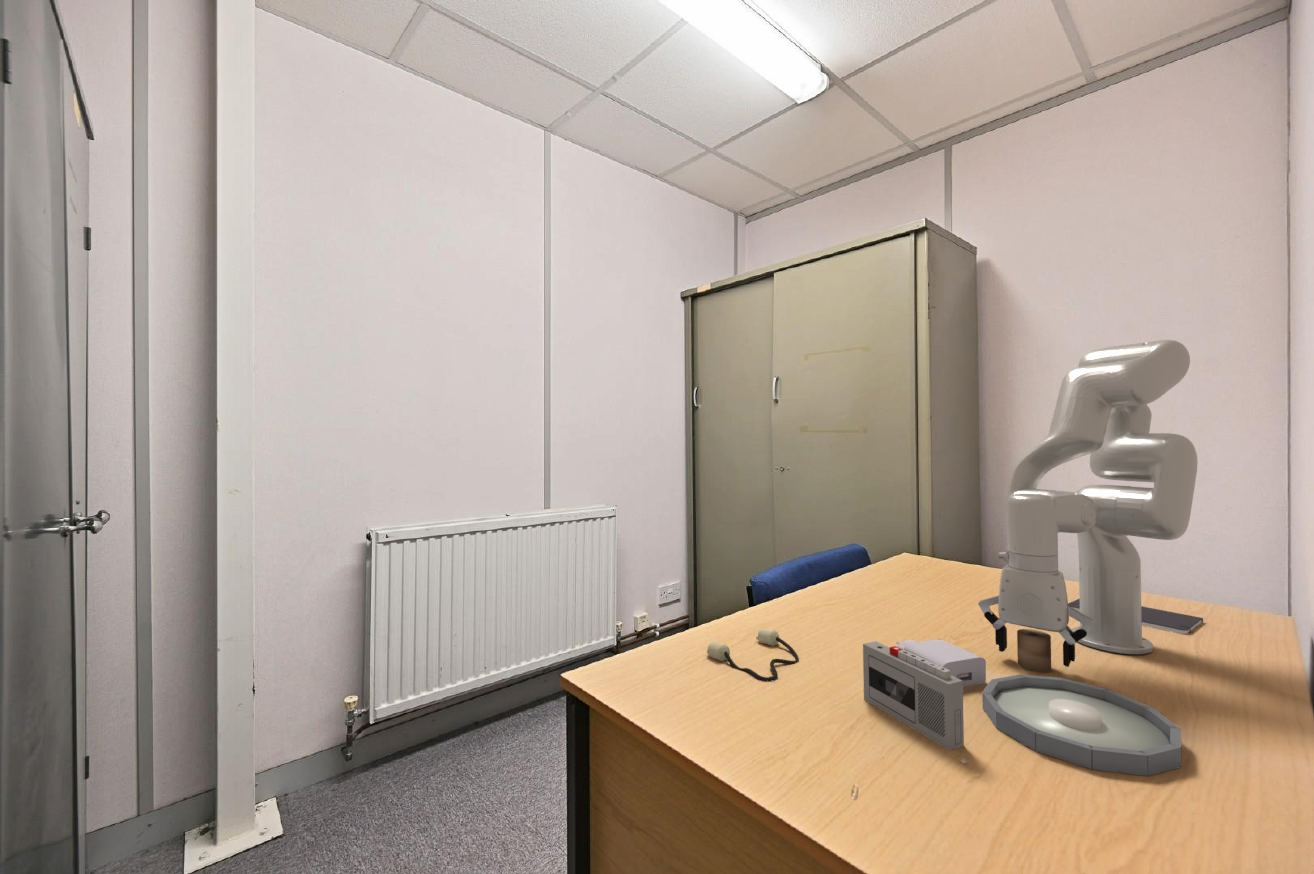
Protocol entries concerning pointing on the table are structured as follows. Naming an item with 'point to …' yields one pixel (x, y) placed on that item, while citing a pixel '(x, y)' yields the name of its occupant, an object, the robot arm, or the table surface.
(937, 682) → the cassette player
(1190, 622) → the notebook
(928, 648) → the charger
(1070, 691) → the tray
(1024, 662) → the bead
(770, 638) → the cable
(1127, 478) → the robot arm
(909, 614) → the table surface
